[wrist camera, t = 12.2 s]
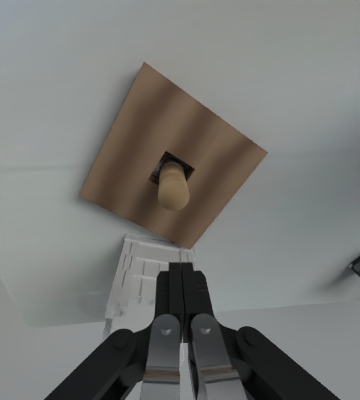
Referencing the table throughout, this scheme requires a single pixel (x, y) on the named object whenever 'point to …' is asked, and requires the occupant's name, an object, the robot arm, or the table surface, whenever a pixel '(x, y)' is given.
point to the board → (176, 145)
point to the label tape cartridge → (356, 266)
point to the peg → (172, 186)
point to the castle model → (140, 283)
